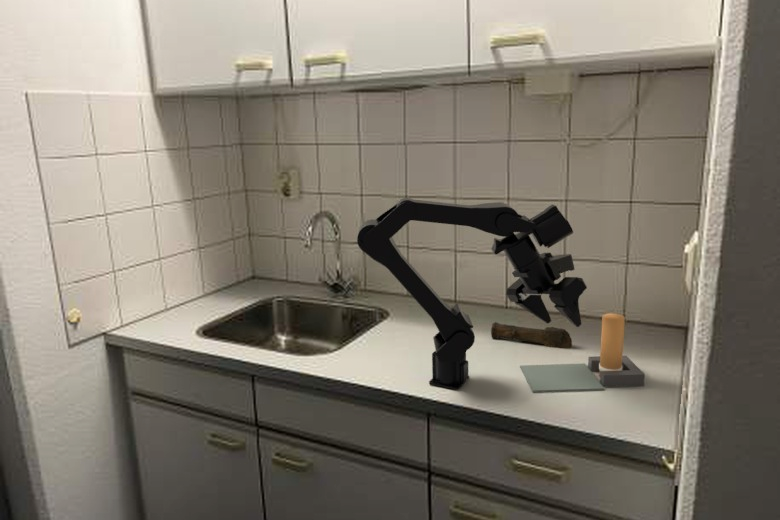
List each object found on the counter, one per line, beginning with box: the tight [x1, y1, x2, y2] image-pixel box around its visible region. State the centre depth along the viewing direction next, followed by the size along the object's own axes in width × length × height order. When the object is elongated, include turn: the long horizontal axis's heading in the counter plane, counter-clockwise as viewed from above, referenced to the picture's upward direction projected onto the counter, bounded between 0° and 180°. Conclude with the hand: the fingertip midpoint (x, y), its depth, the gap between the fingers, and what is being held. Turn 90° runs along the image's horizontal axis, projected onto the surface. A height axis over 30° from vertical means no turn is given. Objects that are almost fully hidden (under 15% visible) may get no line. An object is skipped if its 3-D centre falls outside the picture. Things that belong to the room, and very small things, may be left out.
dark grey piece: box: [587, 355, 646, 388], centre depth 122 cm, size 8×9×2 cm
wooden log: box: [490, 321, 573, 349], centre depth 141 cm, size 19×4×5 cm, turn 60°
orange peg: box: [598, 312, 626, 377], centre depth 121 cm, size 4×4×13 cm
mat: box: [519, 363, 605, 393], centre depth 123 cm, size 14×12×1 cm
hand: (563, 323), depth 120 cm, fingers open, 9 cm apart
